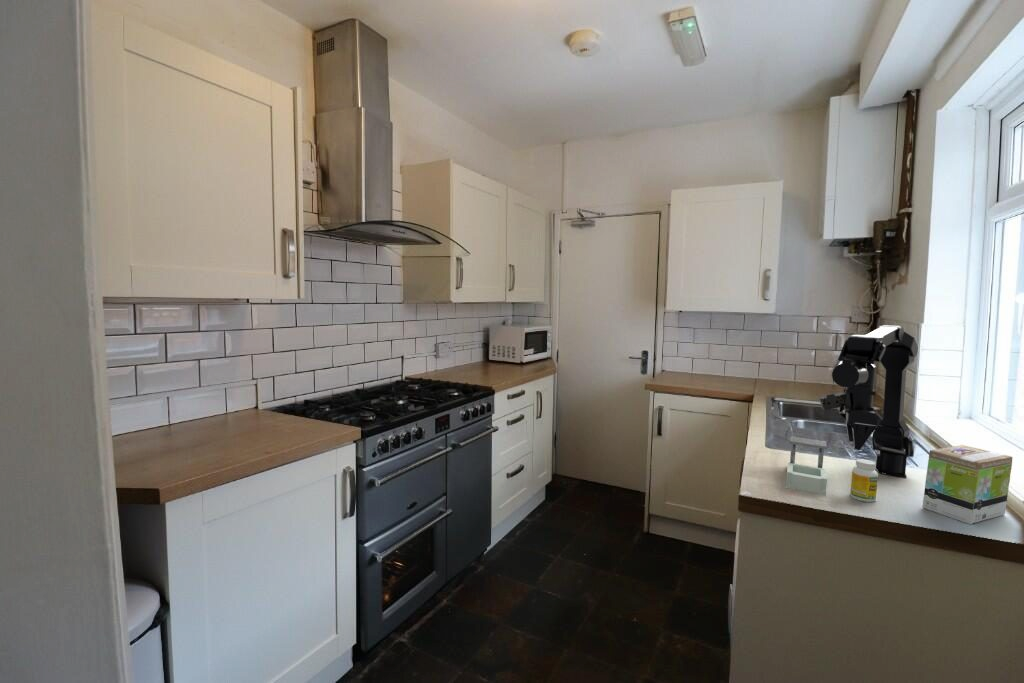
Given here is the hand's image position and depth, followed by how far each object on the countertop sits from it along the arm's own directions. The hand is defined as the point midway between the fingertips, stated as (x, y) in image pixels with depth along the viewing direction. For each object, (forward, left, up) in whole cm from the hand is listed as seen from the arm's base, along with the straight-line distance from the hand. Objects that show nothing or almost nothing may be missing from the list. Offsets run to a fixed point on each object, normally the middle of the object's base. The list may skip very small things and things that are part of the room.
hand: (854, 445), depth 123 cm
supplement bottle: (-3, 0, -14) cm, 14 cm away
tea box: (-23, -4, -14) cm, 27 cm away
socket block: (+10, -6, -13) cm, 18 cm away
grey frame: (+10, -13, -13) cm, 21 cm away
